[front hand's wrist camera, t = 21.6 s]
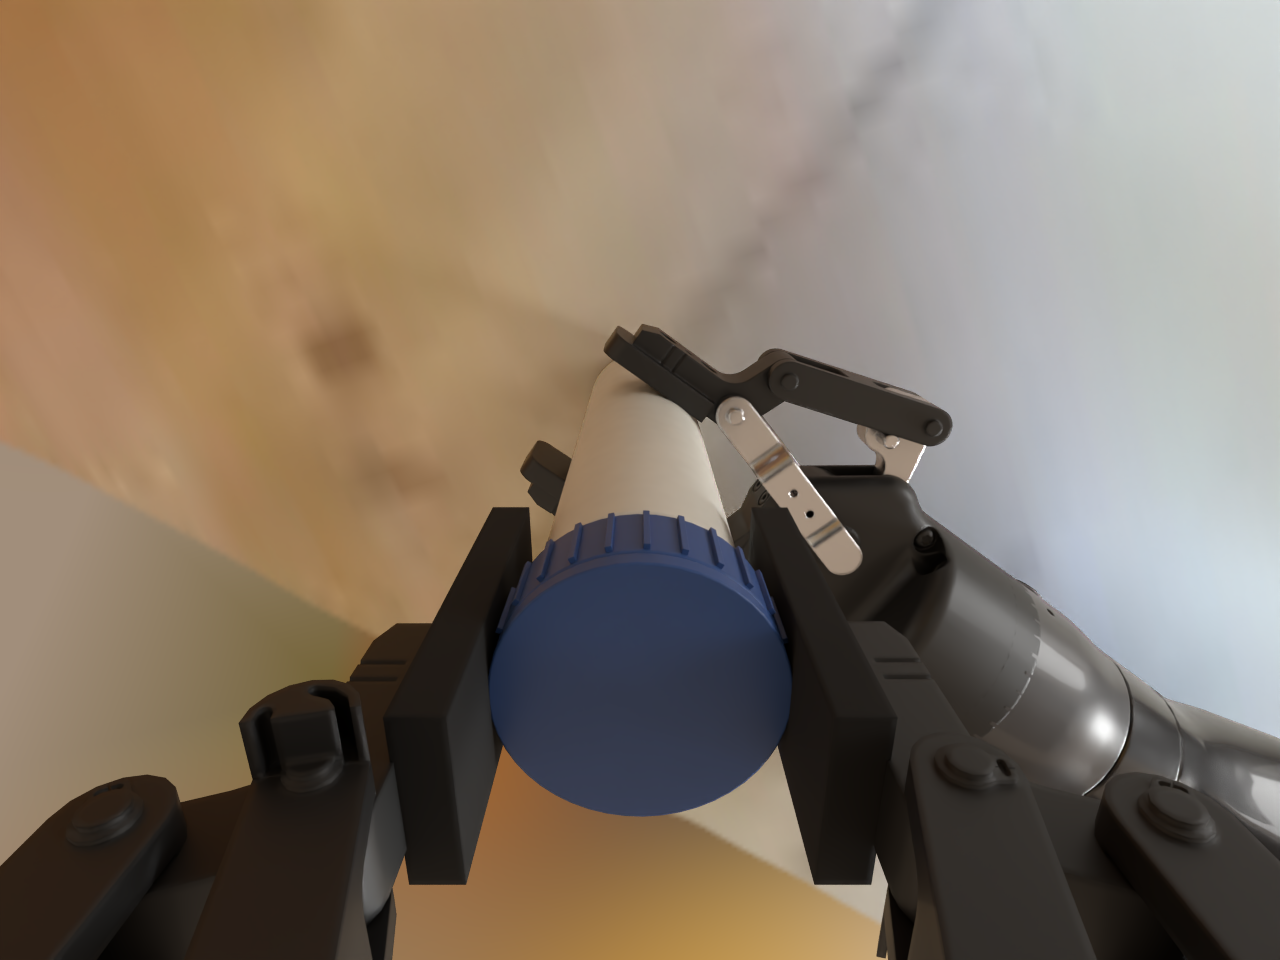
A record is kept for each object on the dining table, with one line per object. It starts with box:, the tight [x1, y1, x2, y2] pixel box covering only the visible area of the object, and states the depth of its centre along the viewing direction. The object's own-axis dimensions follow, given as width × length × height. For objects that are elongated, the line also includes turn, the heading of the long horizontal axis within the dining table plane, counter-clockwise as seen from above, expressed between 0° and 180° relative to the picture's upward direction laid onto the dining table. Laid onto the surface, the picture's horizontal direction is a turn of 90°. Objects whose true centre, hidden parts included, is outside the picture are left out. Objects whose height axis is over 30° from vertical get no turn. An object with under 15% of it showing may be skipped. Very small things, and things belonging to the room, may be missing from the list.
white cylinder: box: [548, 361, 735, 548], centre depth 20 cm, size 4×4×18 cm
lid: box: [488, 510, 792, 816], centre depth 11 cm, size 5×5×2 cm
